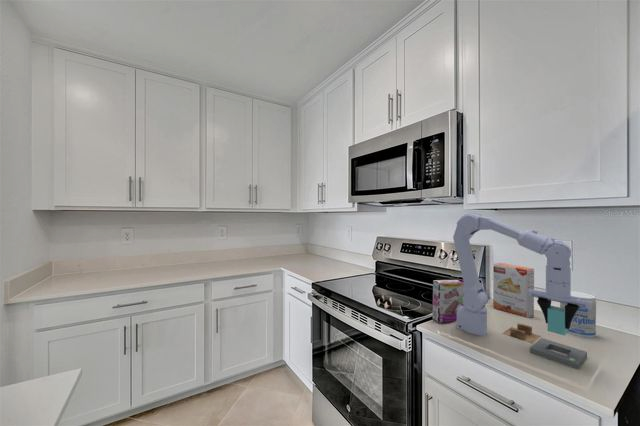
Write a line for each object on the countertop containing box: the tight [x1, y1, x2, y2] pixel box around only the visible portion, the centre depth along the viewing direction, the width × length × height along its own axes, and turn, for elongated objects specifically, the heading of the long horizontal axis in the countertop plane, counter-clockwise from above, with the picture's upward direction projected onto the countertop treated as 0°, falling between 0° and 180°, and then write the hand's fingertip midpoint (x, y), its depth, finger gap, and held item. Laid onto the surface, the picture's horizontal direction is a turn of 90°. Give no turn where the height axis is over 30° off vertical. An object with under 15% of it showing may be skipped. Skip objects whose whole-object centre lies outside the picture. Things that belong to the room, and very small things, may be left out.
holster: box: [501, 322, 542, 345], centre depth 95 cm, size 9×9×4 cm
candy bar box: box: [432, 279, 464, 324], centre depth 110 cm, size 11×5×16 cm, turn 97°
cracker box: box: [492, 262, 535, 319], centre depth 119 cm, size 14×6×21 cm, turn 25°
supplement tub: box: [559, 290, 597, 338], centre depth 98 cm, size 10×10×15 cm
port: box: [529, 337, 588, 370], centre depth 82 cm, size 11×11×3 cm
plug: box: [547, 305, 569, 337], centre depth 82 cm, size 4×4×7 cm
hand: (557, 325), depth 82 cm, fingers closed on plug, 4 cm apart
